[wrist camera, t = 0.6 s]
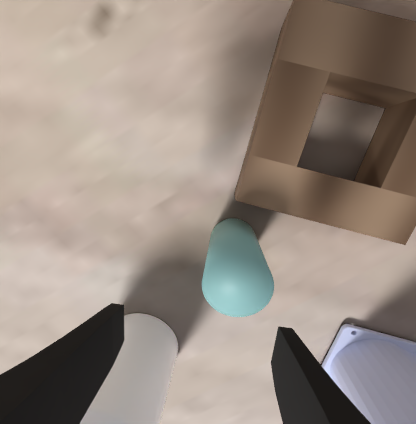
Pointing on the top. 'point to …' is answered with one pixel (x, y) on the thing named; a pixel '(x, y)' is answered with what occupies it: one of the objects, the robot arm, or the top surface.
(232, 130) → the top surface
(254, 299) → the dowel
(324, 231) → the top surface
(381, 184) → the socket block
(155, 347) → the pill bottle
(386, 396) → the robot arm
